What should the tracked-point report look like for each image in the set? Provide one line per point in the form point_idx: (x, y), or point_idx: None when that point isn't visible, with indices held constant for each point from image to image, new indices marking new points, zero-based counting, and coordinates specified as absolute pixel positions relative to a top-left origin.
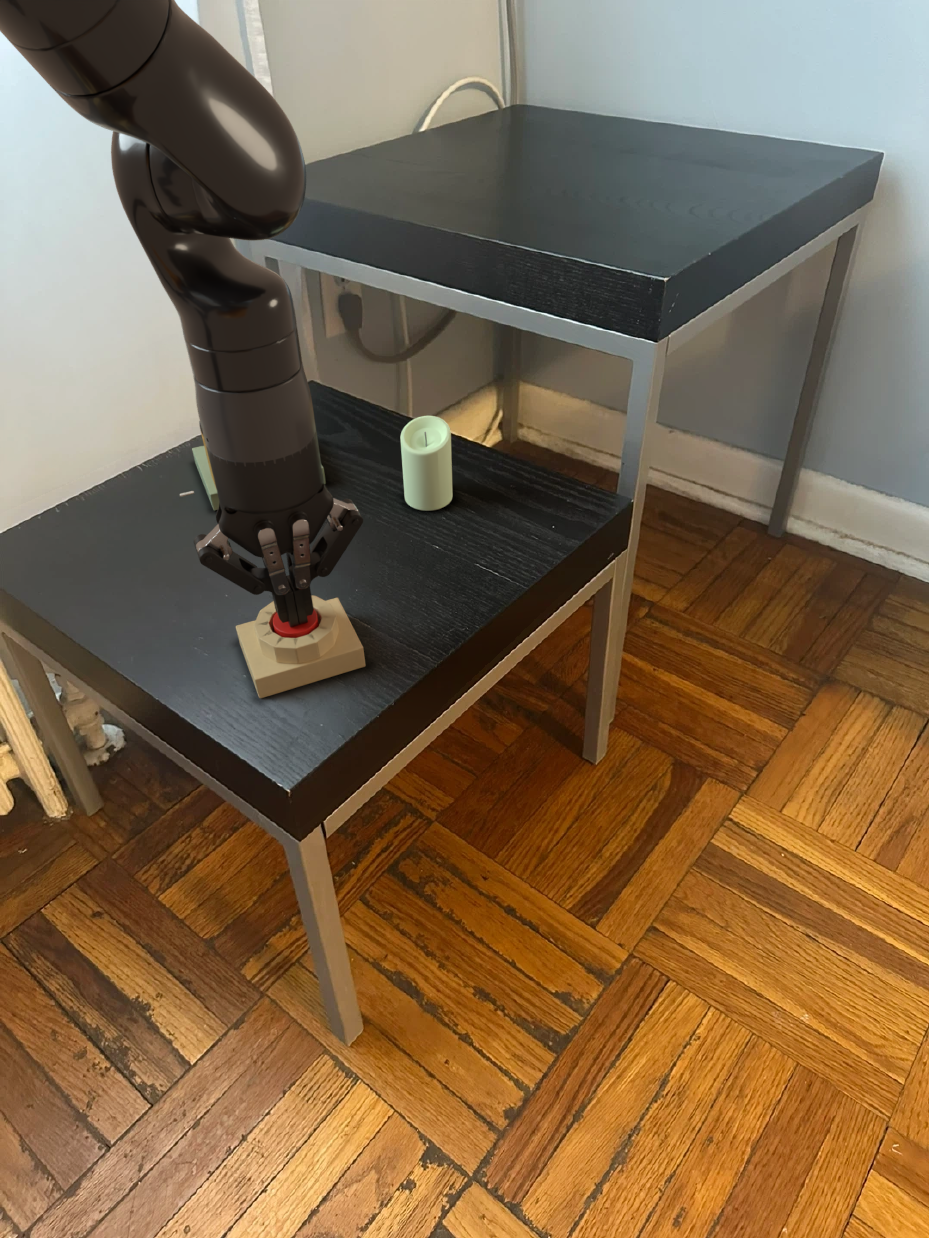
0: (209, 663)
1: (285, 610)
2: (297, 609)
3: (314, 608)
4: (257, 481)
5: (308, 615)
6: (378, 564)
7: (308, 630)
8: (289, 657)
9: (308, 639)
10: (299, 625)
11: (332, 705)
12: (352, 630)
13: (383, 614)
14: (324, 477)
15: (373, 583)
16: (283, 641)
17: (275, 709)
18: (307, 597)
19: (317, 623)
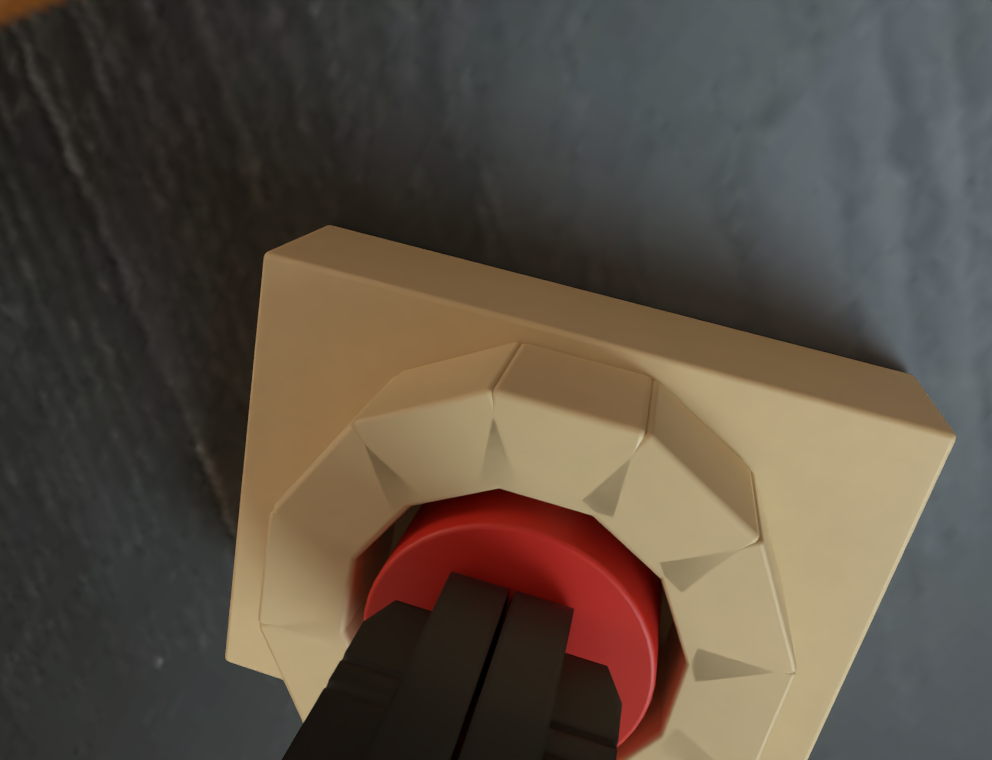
0: (956, 737)
1: (556, 733)
2: (473, 680)
3: None
4: None
5: (421, 609)
6: (27, 716)
7: (483, 517)
8: (691, 433)
9: (526, 446)
10: (512, 588)
11: (616, 73)
12: (258, 411)
13: (115, 470)
14: None
15: (83, 647)
16: (679, 541)
17: (893, 251)
18: (344, 722)
19: (401, 542)
